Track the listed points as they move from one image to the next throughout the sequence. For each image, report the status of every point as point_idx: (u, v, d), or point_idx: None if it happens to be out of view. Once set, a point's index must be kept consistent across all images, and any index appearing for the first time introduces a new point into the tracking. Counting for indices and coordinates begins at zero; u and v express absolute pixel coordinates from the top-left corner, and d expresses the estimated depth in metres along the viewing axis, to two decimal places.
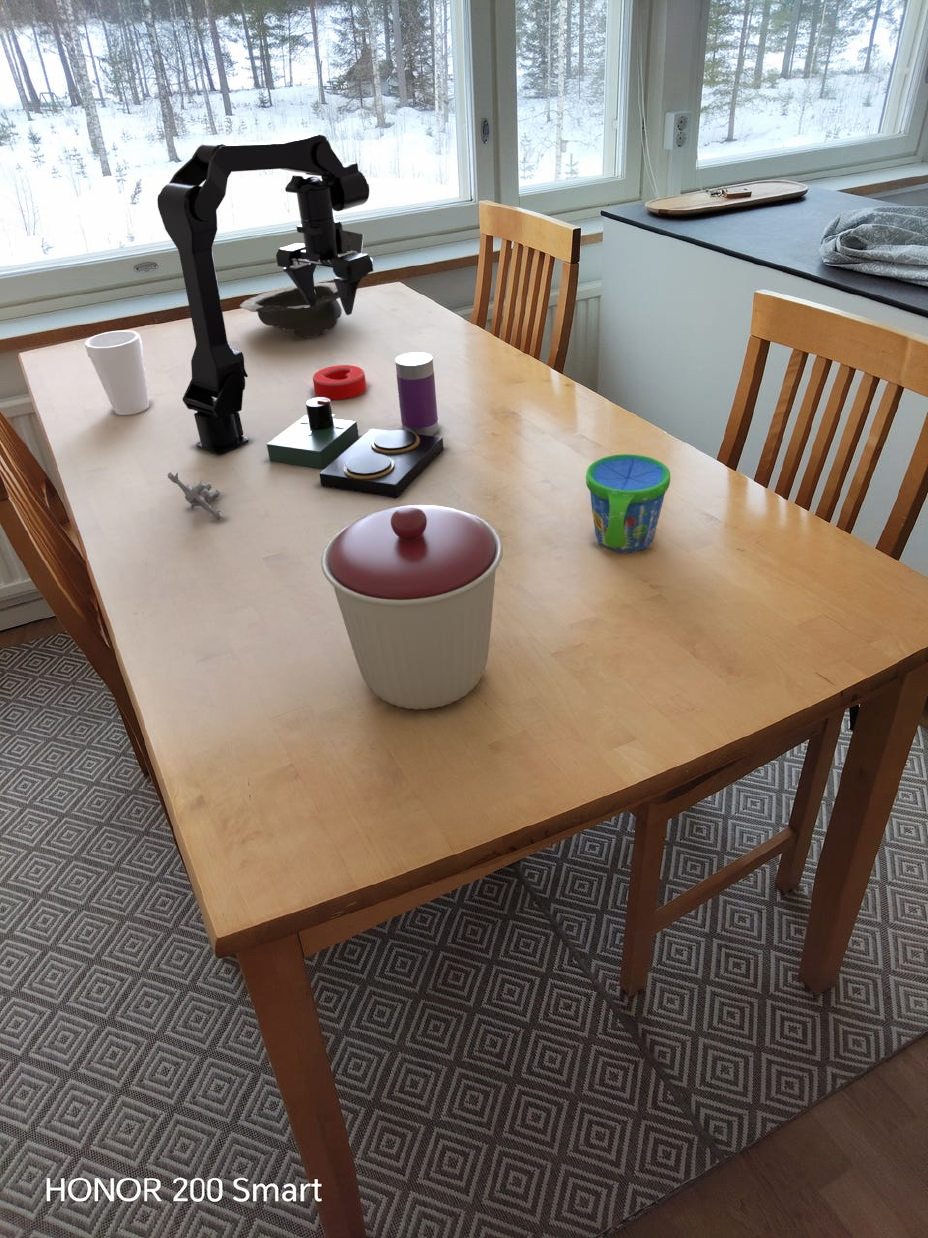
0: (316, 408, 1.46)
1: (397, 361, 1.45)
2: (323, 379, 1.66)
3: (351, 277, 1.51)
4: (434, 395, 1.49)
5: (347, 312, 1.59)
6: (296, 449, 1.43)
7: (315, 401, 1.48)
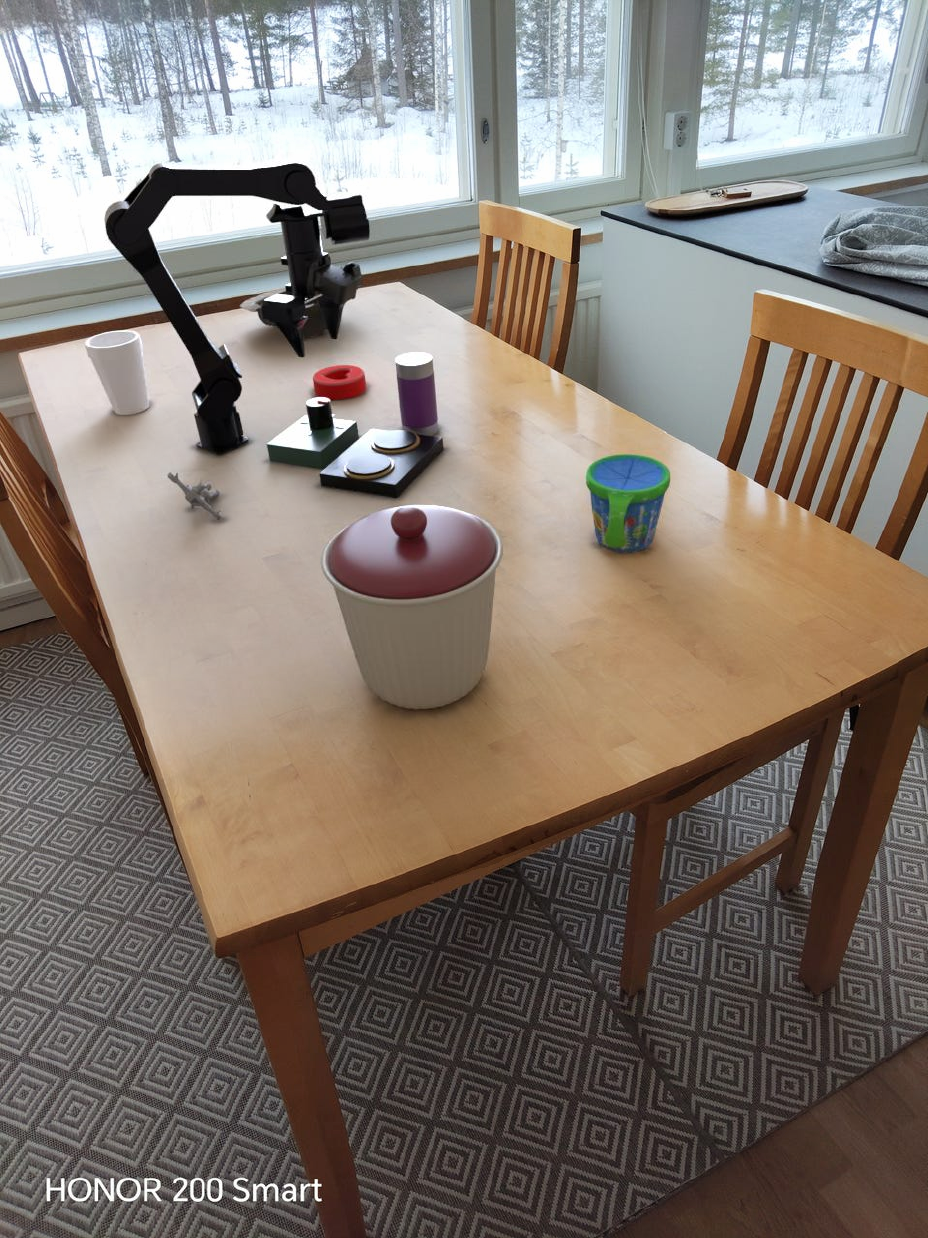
0: (316, 408, 1.46)
1: (397, 361, 1.45)
2: (323, 379, 1.66)
3: (262, 317, 1.40)
4: (434, 395, 1.49)
5: (296, 353, 1.46)
6: (296, 449, 1.43)
7: (315, 401, 1.48)
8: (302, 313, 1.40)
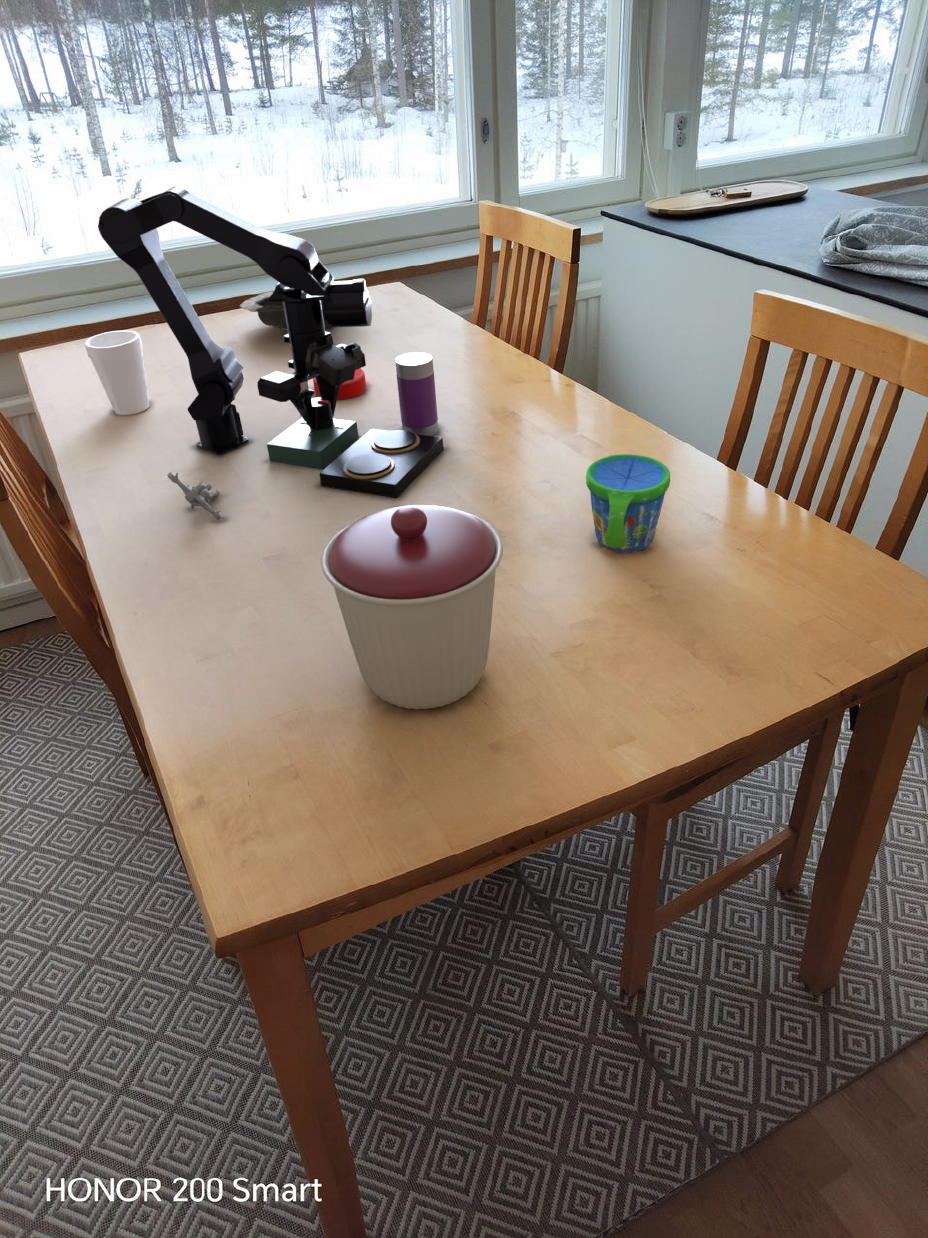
0: (316, 408, 1.46)
1: (397, 361, 1.45)
2: None
3: (259, 393, 1.41)
4: (434, 395, 1.49)
5: None
6: (296, 449, 1.43)
7: (315, 401, 1.48)
8: (296, 393, 1.40)
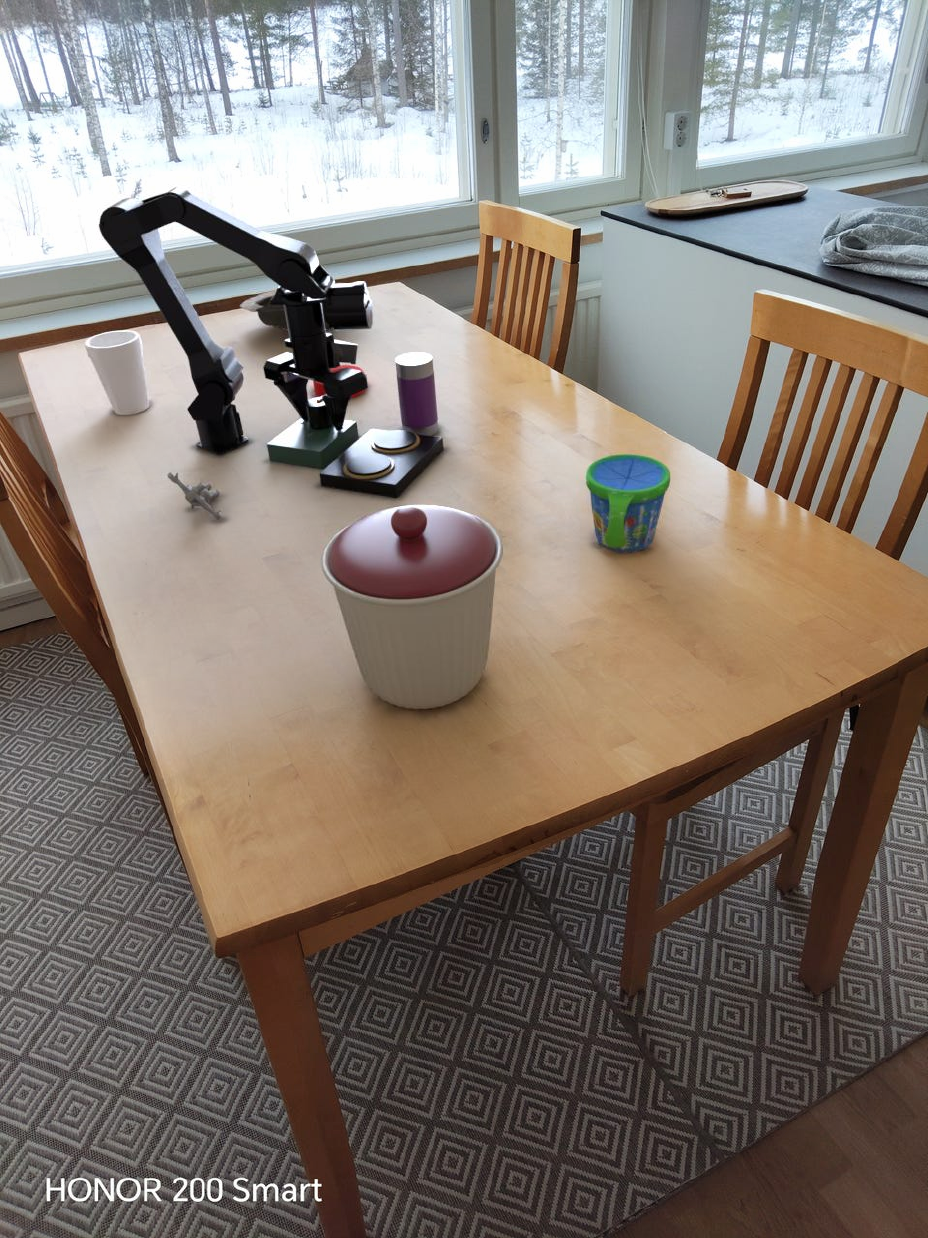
0: None
1: (397, 361, 1.45)
2: None
3: (343, 397, 1.39)
4: (434, 395, 1.49)
5: (337, 428, 1.47)
6: (296, 449, 1.43)
7: (316, 402, 1.47)
8: None
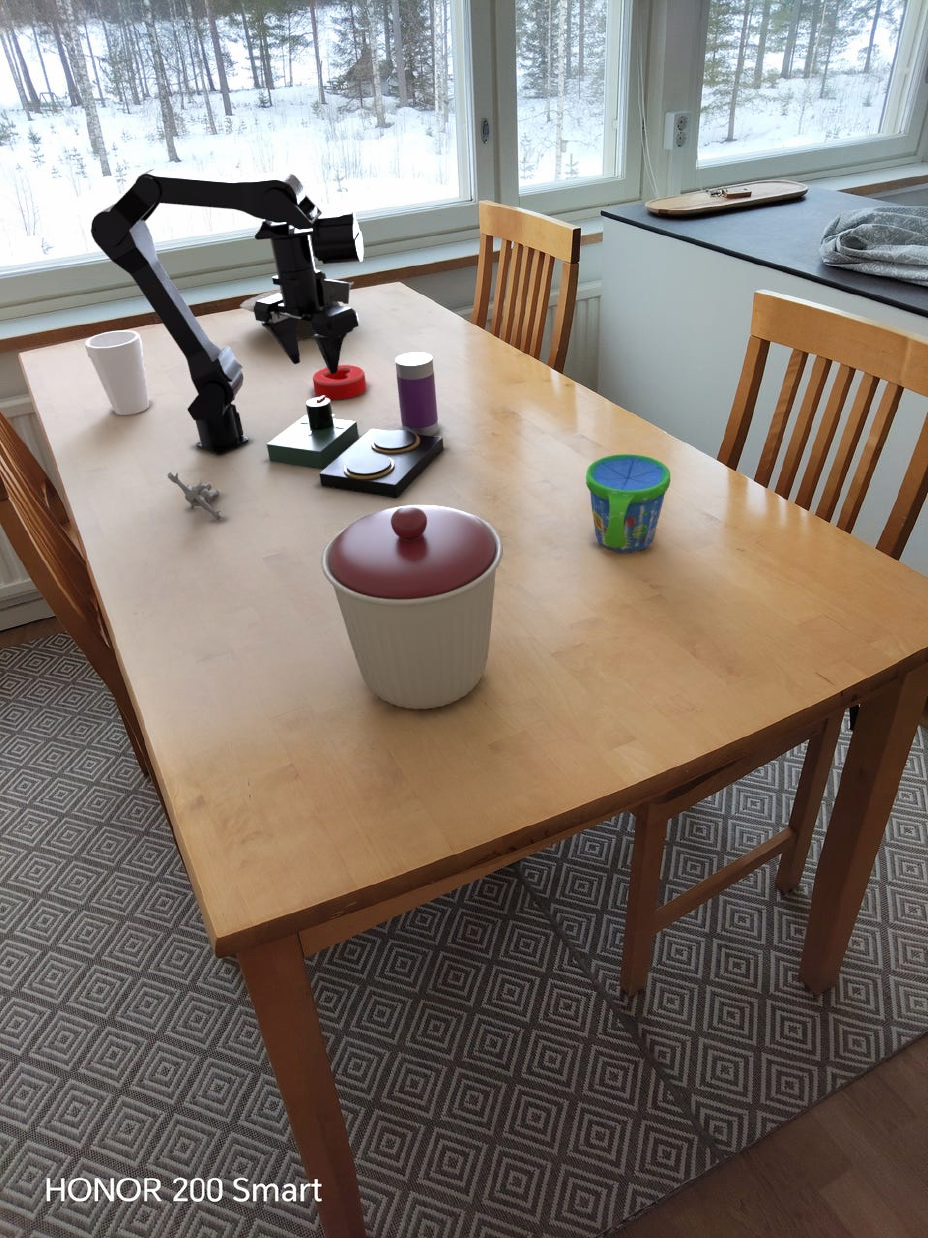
0: (330, 403, 1.48)
1: (397, 361, 1.45)
2: (323, 379, 1.66)
3: (332, 335, 1.33)
4: (434, 395, 1.49)
5: (332, 371, 1.41)
6: (296, 449, 1.43)
7: (316, 402, 1.47)
8: None
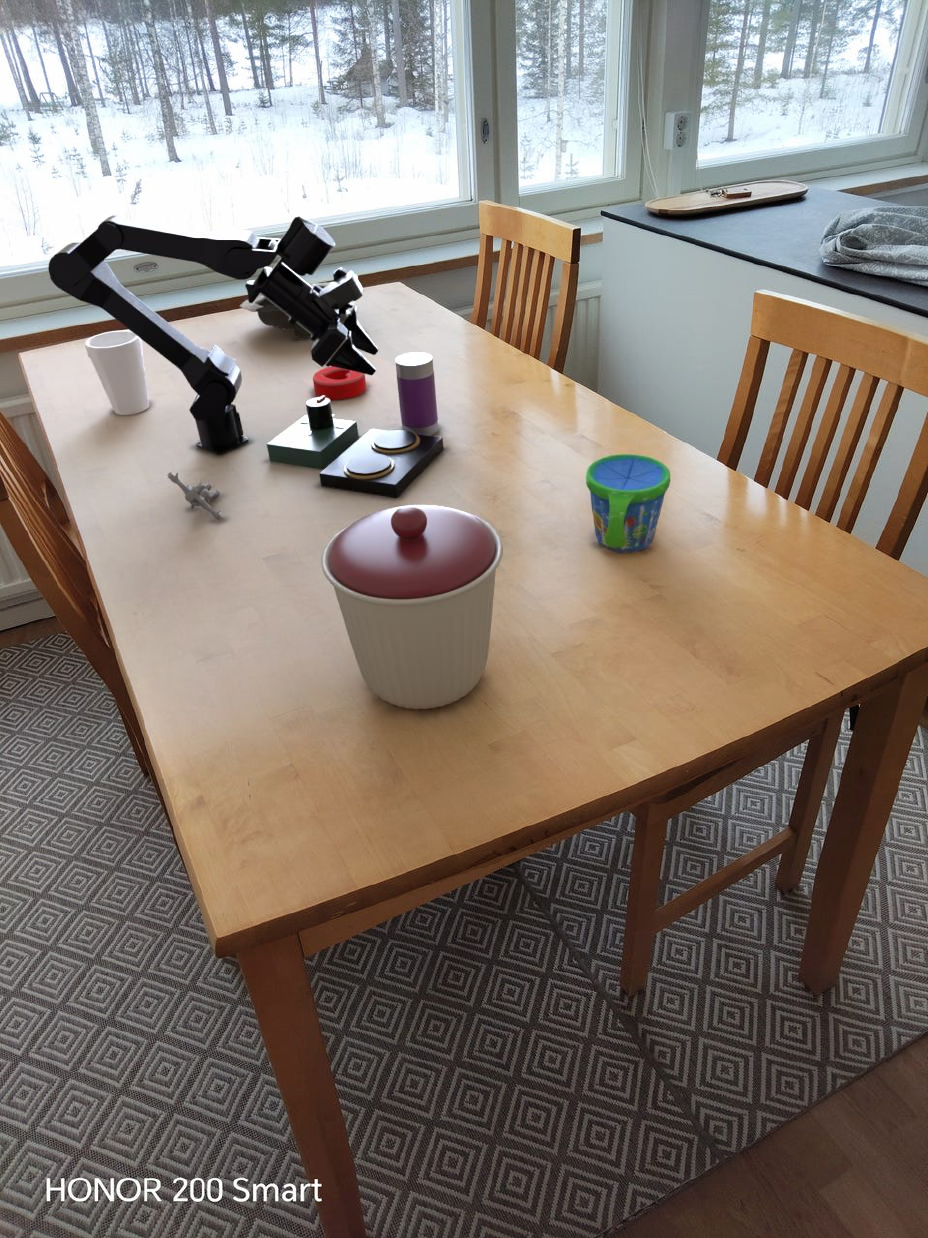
0: (330, 403, 1.48)
1: (397, 361, 1.45)
2: (323, 379, 1.66)
3: (322, 365, 1.37)
4: (434, 395, 1.49)
5: (369, 374, 1.42)
6: (296, 449, 1.43)
7: (316, 402, 1.47)
8: (345, 329, 1.36)
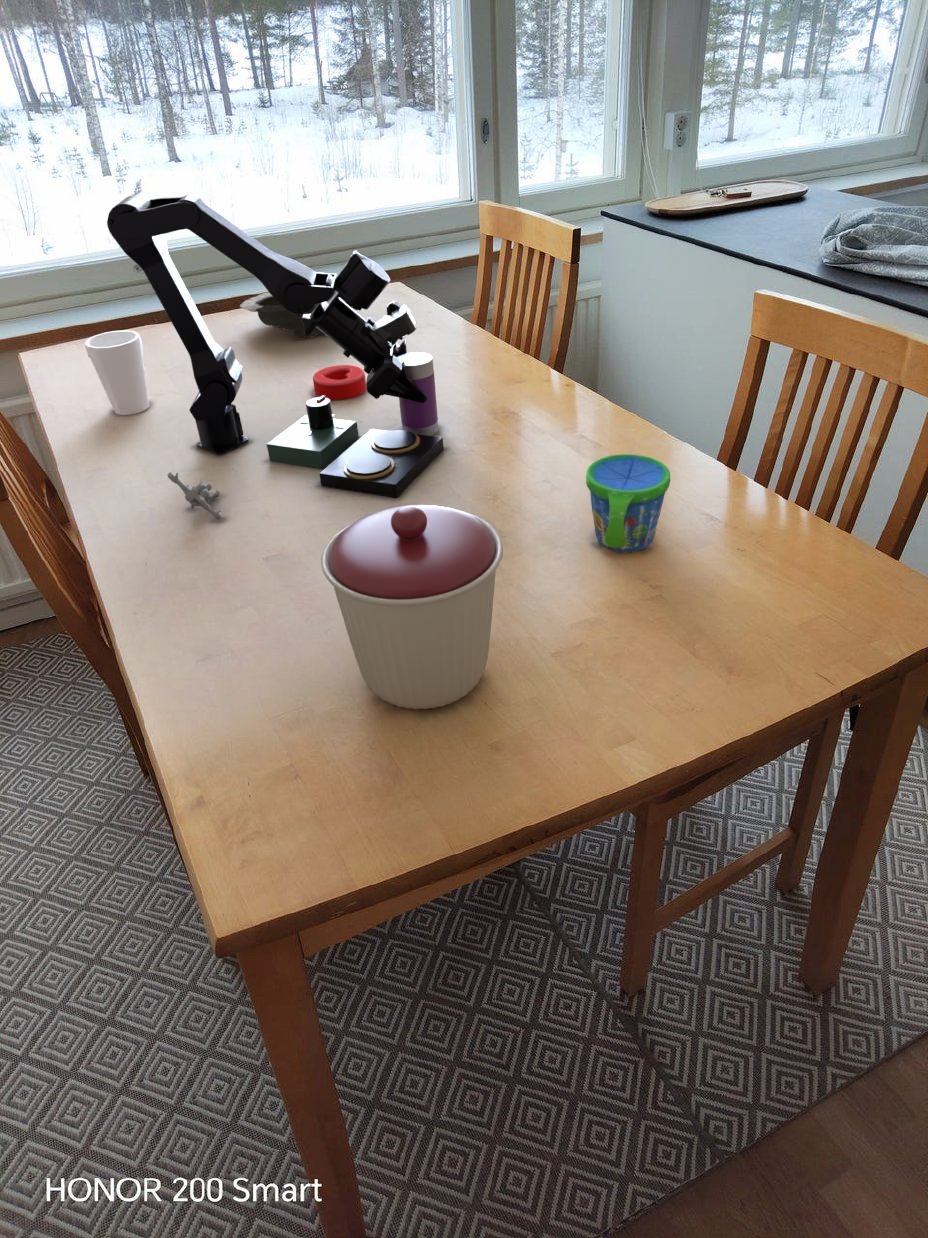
0: (330, 403, 1.48)
1: None
2: (323, 379, 1.66)
3: (377, 397, 1.40)
4: (434, 395, 1.49)
5: (420, 401, 1.46)
6: (296, 449, 1.43)
7: (316, 402, 1.47)
8: (399, 362, 1.40)
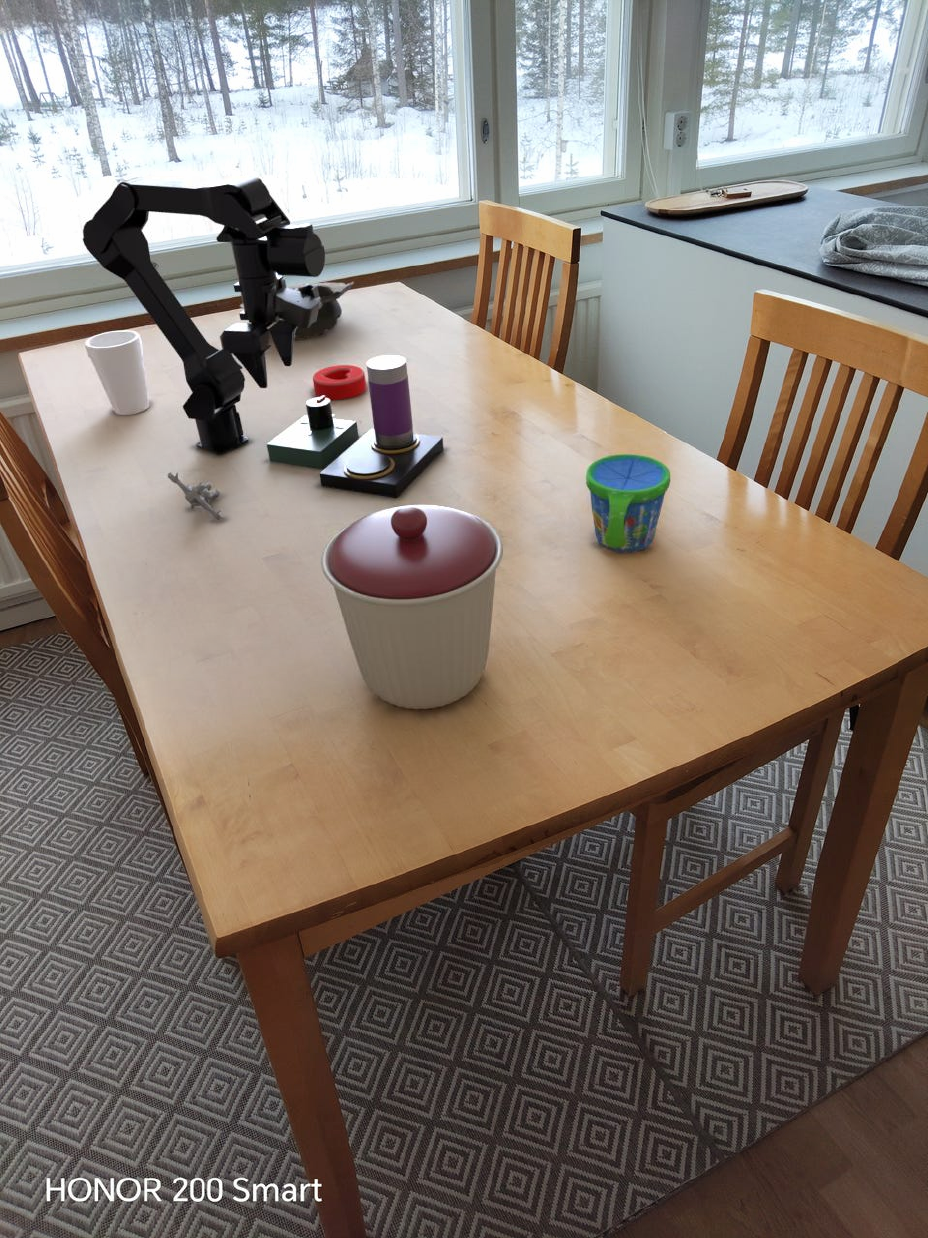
0: (330, 403, 1.48)
1: (368, 363, 1.37)
2: (323, 379, 1.66)
3: (223, 349, 1.31)
4: (405, 403, 1.39)
5: (258, 384, 1.38)
6: (296, 449, 1.43)
7: (316, 402, 1.47)
8: (267, 341, 1.31)
